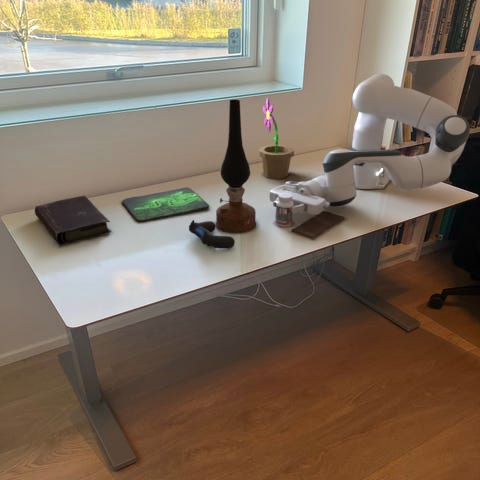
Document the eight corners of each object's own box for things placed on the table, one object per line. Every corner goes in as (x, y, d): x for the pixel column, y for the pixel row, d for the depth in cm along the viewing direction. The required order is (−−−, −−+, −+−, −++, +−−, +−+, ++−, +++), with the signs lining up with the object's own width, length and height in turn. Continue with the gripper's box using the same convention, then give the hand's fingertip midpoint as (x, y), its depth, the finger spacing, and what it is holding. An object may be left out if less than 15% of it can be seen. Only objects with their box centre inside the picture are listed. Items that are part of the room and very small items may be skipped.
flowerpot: (253, 170, 215) (254, 95, 198) (285, 167, 218) (288, 92, 201) (265, 182, 204) (267, 102, 186) (298, 178, 207) (303, 100, 190)
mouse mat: (137, 222, 171) (137, 220, 171) (120, 200, 187) (120, 198, 187) (211, 208, 181) (211, 205, 180) (189, 188, 197) (188, 186, 197)
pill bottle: (291, 227, 168) (293, 199, 162) (274, 226, 169) (275, 197, 163) (293, 220, 173) (295, 192, 167) (276, 219, 174) (278, 191, 168)
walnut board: (323, 213, 178) (323, 210, 177) (344, 219, 174) (344, 216, 173) (291, 232, 165) (291, 229, 165) (313, 239, 161) (313, 236, 160)
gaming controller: (206, 236, 168) (182, 228, 162) (214, 221, 166) (189, 211, 160) (230, 257, 156) (205, 248, 150) (239, 241, 154) (213, 231, 148)
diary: (57, 247, 157) (53, 232, 154) (36, 219, 174) (33, 205, 171) (114, 233, 165) (112, 219, 162) (89, 208, 182) (86, 194, 179)
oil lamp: (259, 229, 175) (283, 106, 157) (246, 240, 162) (270, 107, 144) (222, 219, 178) (242, 97, 160) (206, 229, 165) (225, 97, 147)
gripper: (331, 212, 172) (308, 224, 163) (283, 197, 183) (259, 208, 174) (333, 194, 168) (309, 206, 159) (284, 180, 179) (259, 190, 171)
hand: (283, 207), depth 167 cm, fingers closed on pill bottle, 6 cm apart
